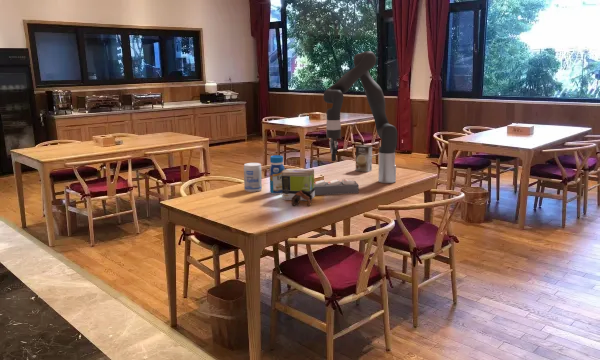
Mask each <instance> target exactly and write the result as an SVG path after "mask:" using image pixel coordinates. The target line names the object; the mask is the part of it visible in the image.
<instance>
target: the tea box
mask: <svg viewBox="0 0 600 360" xmlns="http://www.w3.org/2000/svg"><path fill="white" fill-rule="evenodd" d="M281 174H282V194H281V195H282V200H283V201H285V200H286V201H292V197H293V196H294V195H295V194H296V193H298V192H300V190H303V191H306V192H308V193H309V194H310V195H311V196H312V197H313V198H312V200H314V198H315V196H316V195H315V185H314V182H315V169H313V168H312V169H311V168H310V169H309V168H308V169H307V168H306V169H305V168H286V169H284V171H283V172H281ZM305 195H306V194H305ZM300 197H301V196H300ZM300 201H305V202H306V201H307V200H306V199H303V198H302V197H301V199H300Z"/></svg>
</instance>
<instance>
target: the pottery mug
mask: <svg viewBox="0 0 600 360" xmlns="http://www.w3.org/2000/svg"><path fill="white" fill-rule="evenodd" d="M305 194H306V195H305ZM300 196H301V197H302V198H303V199H306V200H307V201H308V203H307V206H308V207H310V206H311V204H312V203H313V201H312V200H313V199H314V198H313V197H312V196H311V195H310V194H309V193H308V192H306V191H303V190H300V192H298V193H296V194H295V195H294V196H293V197H292V200H291V206H293V207H294V206H298V205H299V202H300V201H301V200H300V199H301V197H300ZM312 198H313V199H312Z"/></svg>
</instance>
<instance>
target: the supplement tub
mask: <svg viewBox="0 0 600 360" xmlns="http://www.w3.org/2000/svg"><path fill="white" fill-rule="evenodd" d="M243 180H244V181H243V183H244V184H243V185H244V191H245V192H249V193H256V191H257V192H261V190H262V186H263V184H262V181H263V180H262V164H261V163H260V162H248V163H244V164H243Z"/></svg>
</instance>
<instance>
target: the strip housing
mask: <svg viewBox="0 0 600 360" xmlns="http://www.w3.org/2000/svg"><path fill="white" fill-rule="evenodd" d="M353 181H354V182H355V184H347V185H346V184H343V183H342V181H340V184H339V185H328V183H327V182H328V181H325V184H326V185H323V186H315V196H321V195H322V196H323V195H325V196H327V195H344V194H345V195H346V194H359V192H360V191H359V189H360V188H359V186H360V185H359V183H358V182H356V181H355V180H353ZM326 194H327V195H326Z"/></svg>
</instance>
